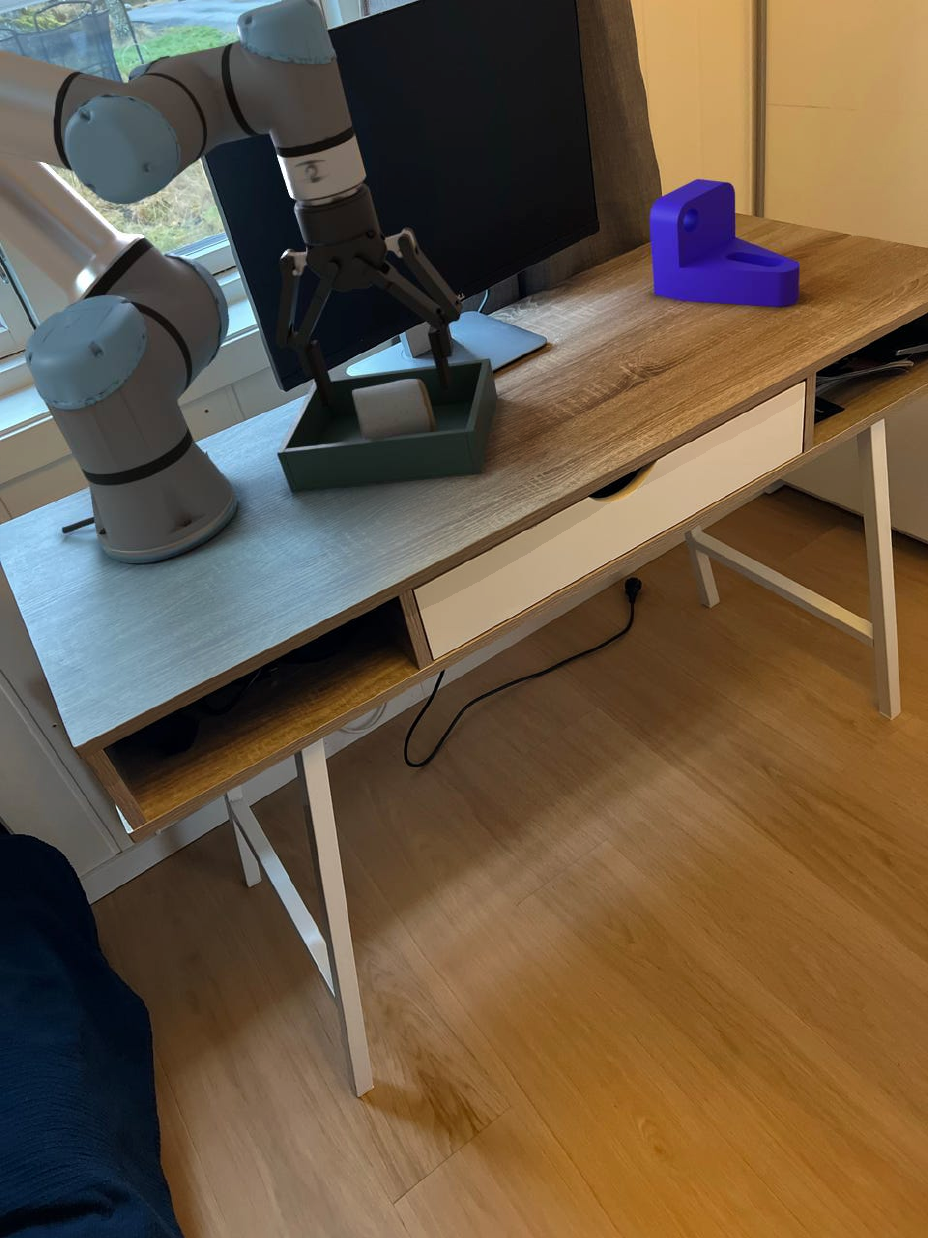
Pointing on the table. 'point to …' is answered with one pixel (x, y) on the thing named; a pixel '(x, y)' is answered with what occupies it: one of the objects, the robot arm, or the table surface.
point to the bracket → (714, 252)
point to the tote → (339, 456)
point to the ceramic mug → (394, 409)
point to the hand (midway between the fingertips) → (387, 392)
